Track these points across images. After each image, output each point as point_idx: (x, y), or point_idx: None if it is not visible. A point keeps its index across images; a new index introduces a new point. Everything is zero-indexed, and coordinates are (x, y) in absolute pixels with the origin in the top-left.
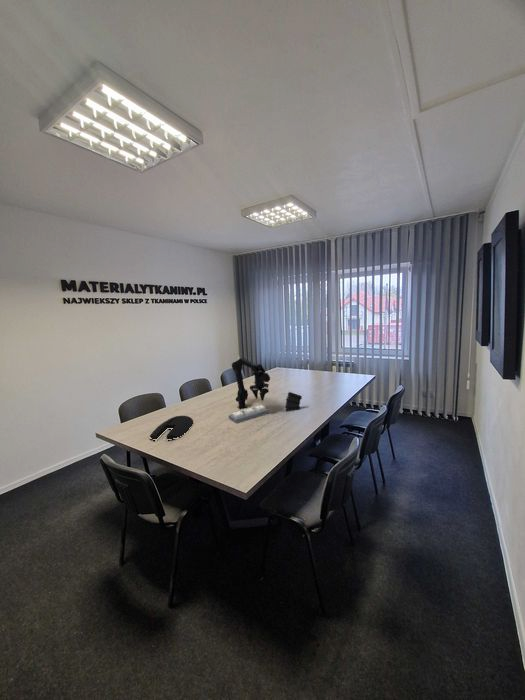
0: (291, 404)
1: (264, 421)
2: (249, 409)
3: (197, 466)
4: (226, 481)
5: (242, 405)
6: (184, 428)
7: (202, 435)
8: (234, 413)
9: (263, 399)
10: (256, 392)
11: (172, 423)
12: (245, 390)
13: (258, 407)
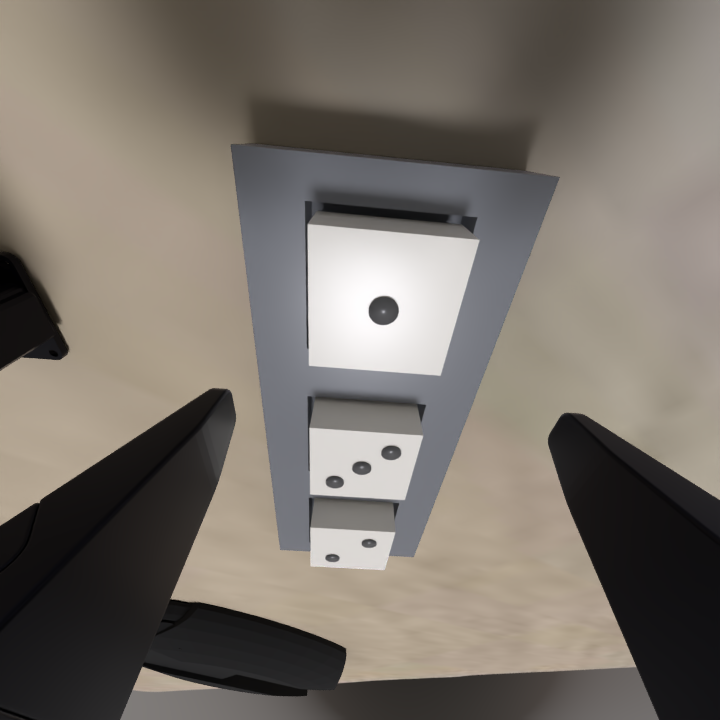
0: None
1: (609, 398)
2: (349, 459)
3: (571, 664)
4: None
5: (19, 356)
6: (297, 657)
7: (392, 622)
8: (332, 563)
9: (620, 442)
10: (36, 694)
11: (217, 672)
12: None
13: (385, 345)
